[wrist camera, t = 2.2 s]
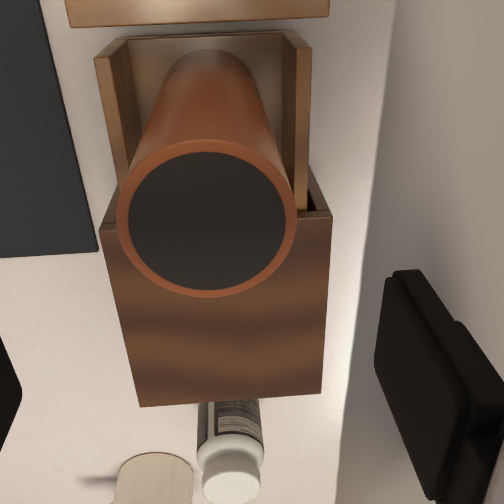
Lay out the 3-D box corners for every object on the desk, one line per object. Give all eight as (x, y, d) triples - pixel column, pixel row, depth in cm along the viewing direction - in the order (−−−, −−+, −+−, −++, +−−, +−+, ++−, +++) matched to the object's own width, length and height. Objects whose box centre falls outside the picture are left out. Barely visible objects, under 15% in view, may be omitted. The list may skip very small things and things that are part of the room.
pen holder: (204, 25, 27) (195, 96, 13) (278, 97, 29) (334, 219, 16) (141, 104, 29) (78, 235, 16) (215, 165, 32) (216, 325, 18)
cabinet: (122, 170, 33) (97, 230, 26) (307, 159, 34) (333, 216, 27) (152, 327, 41) (139, 408, 34) (302, 317, 42) (321, 394, 34)
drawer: (78, -107, 24) (36, -125, 19) (308, -114, 25) (336, -134, 19) (134, 204, 34) (118, 256, 28) (300, 195, 34) (317, 243, 29)
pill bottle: (227, 420, 48) (230, 518, 40) (186, 393, 46) (180, 492, 37) (269, 392, 46) (281, 489, 38) (229, 363, 44) (233, 459, 36)
